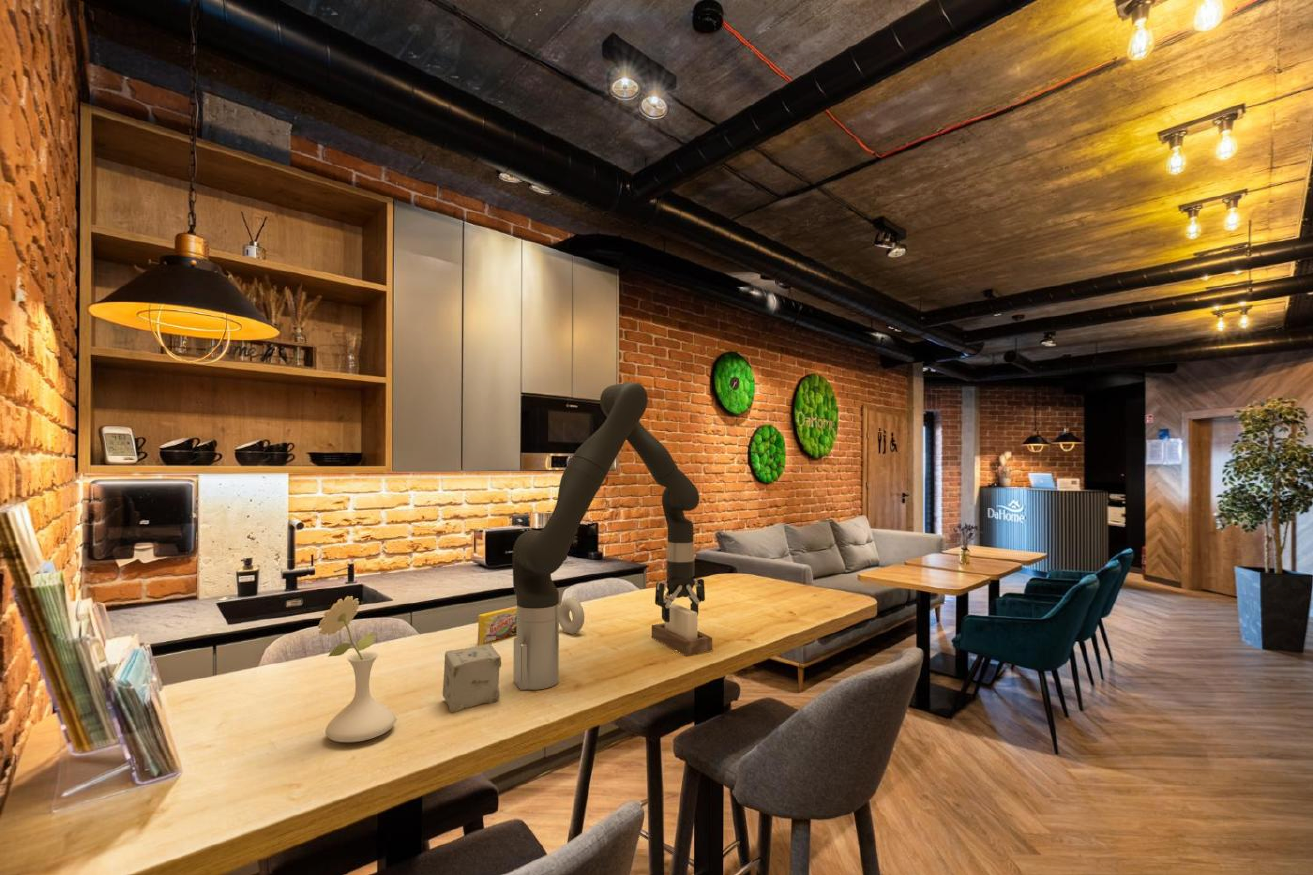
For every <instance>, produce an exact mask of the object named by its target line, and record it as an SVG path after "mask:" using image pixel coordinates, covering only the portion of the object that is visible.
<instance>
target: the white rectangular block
mask: <svg viewBox="0 0 1313 875" xmlns="http://www.w3.org/2000/svg"><path fill="white" fill-rule="evenodd" d="M669 608H670V622H665V621H664V623H665V629H667V630H669V631H671V632H673V633H675V634H677V635H679V636H681V637H683V638H685V639H687V640H689V639H695V638H698V631H699V630H698V629H699V628H698V616H697V612H694V611H692V610H690V609H689V608H687V607H685V606H682V605H679V604H677V603H674V602H672V603H671V605H670V606H669Z"/></svg>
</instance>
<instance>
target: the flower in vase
mask: <svg viewBox="0 0 1313 875" xmlns="http://www.w3.org/2000/svg"><path fill="white" fill-rule="evenodd" d="M359 604H360V601H359V598H354V597H353V595H351V596H349V595H347V596H346V597H344V600H343V599H342V598H340V599H338V600H337V602H336V603H333V605H332V606H331V608H330V609H329V610H325V612H324V613H323V616H324V617H323V618H322V619H320V621H319V624H318V625H317V628H318V629H320V630H318V631H319V632H318V634H321V635H323V636H325V635H327V636H331V635H335V634H336V633H338V632H339V631H341V630H343V629H344V627H346V630H347V633H348V637H349V640H350V642H343V643H340V644H338V645H337V646H335V647H334V648H333V649H332V650H331V652H330V653H329V654H328V655H327V656H328V657H340V656H343V655H344V654H345V653H347V651H349V649H350V648H351V647H352V648H353V650H355V652H356V653H353V654H351V655H349V656H348V657H347V661H348V662H349V663H350V665H351V666H352V668H353V674H354V678H355V679H354V680H355V689H354V696H353V699H352V700H351V701H350V702H349V703H348V704H347V705H346V706H345V707H344V708H343V709H342V710H340V711H339V712H338V713H337V714H336V715H335V716H334V717H333V718H332V719H331V720H330V722H328V724H327V726H326V728H325V736H327V738H328V739H330V740H332V741H334V742H339V743H357V742H364V741H368V740H371V739H374V738H376V737H379V736H381V735H383V734H385V733H387V732H389V731H390V730H391V729H392V728H393V727H394V725H395V723H396V722H397V717H396V714H395V712H394V711H393V710H391V708H389V707H388V706H386V705H385V704H383V703H381V702H379V701H378V700H376V699H374V697H372V695H371V693H370V678H371V672H372V668H373V664H374V663H375V661H376V659H377V658H378V657H379V653H377V652H375V651H363V650H365V649H367V648H369V647H371V646H372V645H373V644H374V641H375V633H374V631H372V632H371V633H369V634H367V635H366V636H364V637H363V638H361V639H359V640H358V642H357V643H356V644H355V643H354V641H353V638H352V635H351V631H350V628H349V624H350V622H351V621H352V620H353V619H354V618H355V616H357V614H358V612H359V611H358V609H359V607H360V605H359ZM356 645H357V646H356ZM360 651H363V652H360Z"/></svg>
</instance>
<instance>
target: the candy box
mask: <svg viewBox="0 0 1313 875" xmlns="http://www.w3.org/2000/svg"><path fill="white" fill-rule="evenodd" d="M477 626H478V627H477V644H476V646H481V645H487V644H491V645H492V643H493V644H495V643H499V642H502V641H503V642H504V641H506V640H509V639H514V638H517V605H515V606H512V607H506V608H503V609H498V610H493V611H490V612H485V613H482V614H478V625H477Z"/></svg>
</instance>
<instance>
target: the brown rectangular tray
mask: <svg viewBox="0 0 1313 875" xmlns="http://www.w3.org/2000/svg"><path fill="white" fill-rule="evenodd" d="M653 638H654V639H653ZM651 639H653V640H655V639H656V640H655V641H657V640H658V641H659V642H658V641H657V642H658V643H660V642H661V643H660V644H662V643H663V644H662V645H664V644H665V645H664V646H666V645H667V646H666V647H667V648H670V649H671V648H672V650H673V649H675V650H677V651H678V652H677V651H676V652H677V653H679V652H680V653H679V654H681V653H682V654H681V655H683V654H684V655H685V656H684V655H683V656H684V657H689V656H688V655H691V656H694V655H693V654H696V655H699V654H698V653H701V654H703V653H702V652H706V651H711V650H712V651H713V637H712V636H710V635H707V634H705V633H704V632H700V631H699V630H698V638H695V639H689V640H687V639H685V638H683V637H681V636H679V635H677V634H675V633H673V632H671V631H669V630H667V629H665V622H663V623H657V624H656V623H655V624H651ZM675 650H674V651H675ZM706 653H707V652H706Z"/></svg>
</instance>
